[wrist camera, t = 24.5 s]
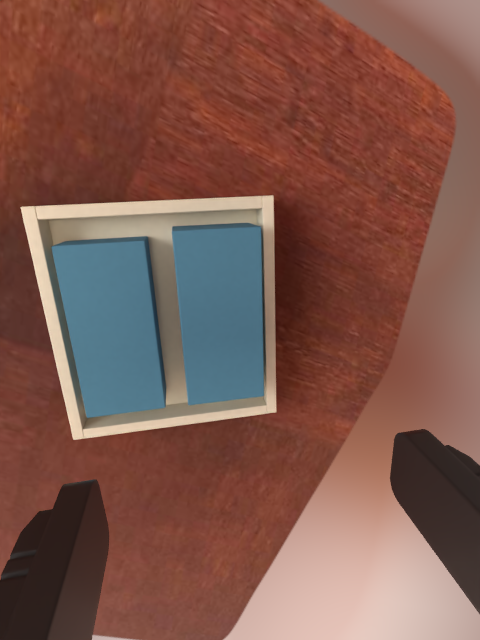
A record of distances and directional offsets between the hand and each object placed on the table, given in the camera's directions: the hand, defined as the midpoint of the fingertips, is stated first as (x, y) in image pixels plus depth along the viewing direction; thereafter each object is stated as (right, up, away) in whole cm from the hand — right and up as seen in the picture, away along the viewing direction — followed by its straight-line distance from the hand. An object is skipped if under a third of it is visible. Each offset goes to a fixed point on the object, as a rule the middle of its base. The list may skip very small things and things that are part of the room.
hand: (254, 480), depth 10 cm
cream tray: (-6, +5, +18) cm, 20 cm away
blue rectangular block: (-2, +5, +18) cm, 19 cm away
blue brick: (-9, +4, +17) cm, 20 cm away
